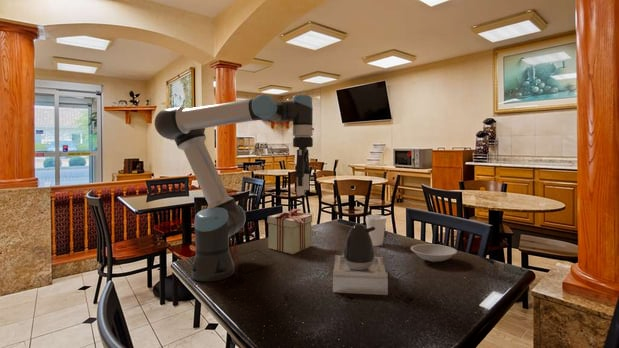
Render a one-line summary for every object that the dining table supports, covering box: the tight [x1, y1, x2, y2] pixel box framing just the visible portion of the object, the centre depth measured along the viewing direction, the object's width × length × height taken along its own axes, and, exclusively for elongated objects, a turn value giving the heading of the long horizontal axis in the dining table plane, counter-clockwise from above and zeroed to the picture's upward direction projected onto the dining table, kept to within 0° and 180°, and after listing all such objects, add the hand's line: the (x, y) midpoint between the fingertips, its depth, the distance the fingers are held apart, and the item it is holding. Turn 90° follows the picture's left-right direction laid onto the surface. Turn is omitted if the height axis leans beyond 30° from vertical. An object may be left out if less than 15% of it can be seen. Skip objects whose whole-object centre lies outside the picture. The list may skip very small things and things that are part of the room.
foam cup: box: [365, 214, 387, 247], centre depth 150 cm, size 10×9×13 cm
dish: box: [410, 243, 458, 263], centre depth 126 cm, size 18×14×5 cm
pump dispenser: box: [343, 223, 375, 271], centre depth 107 cm, size 10×10×15 cm
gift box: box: [266, 208, 313, 255], centre depth 145 cm, size 17×18×17 cm
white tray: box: [332, 252, 389, 296], centre depth 110 cm, size 17×23×8 cm
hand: (303, 192), depth 122 cm, fingers open, 13 cm apart
